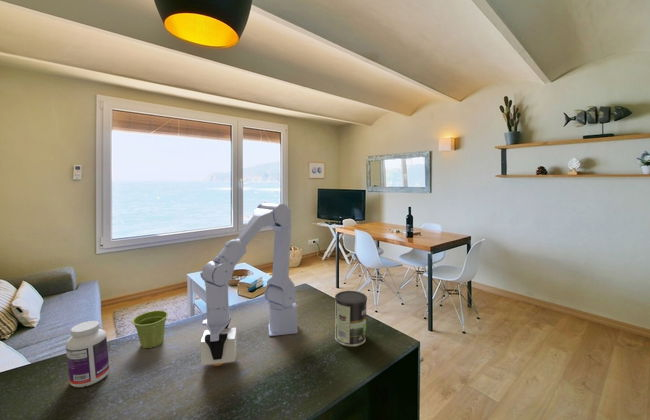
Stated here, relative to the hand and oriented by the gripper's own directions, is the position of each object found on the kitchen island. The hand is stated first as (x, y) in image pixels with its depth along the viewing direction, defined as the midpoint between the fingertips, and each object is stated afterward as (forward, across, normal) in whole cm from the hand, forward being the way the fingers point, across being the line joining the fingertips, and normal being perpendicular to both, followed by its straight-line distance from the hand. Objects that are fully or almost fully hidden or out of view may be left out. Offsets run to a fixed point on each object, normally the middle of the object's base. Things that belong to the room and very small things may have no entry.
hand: (219, 351), depth 81 cm
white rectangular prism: (+2, 0, 0) cm, 2 cm away
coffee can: (+4, -5, +40) cm, 40 cm away
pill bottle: (+4, -1, -32) cm, 32 cm away
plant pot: (+4, -15, -22) cm, 27 cm away
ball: (+2, 0, 0) cm, 2 cm away
